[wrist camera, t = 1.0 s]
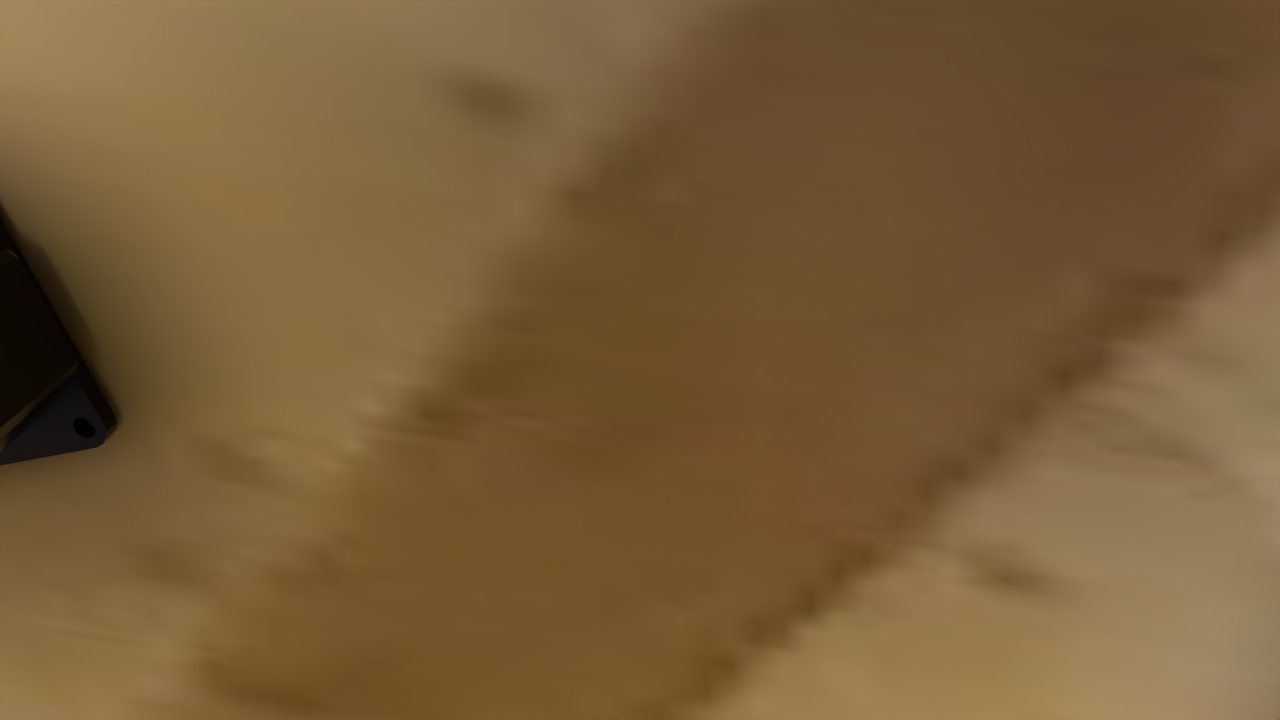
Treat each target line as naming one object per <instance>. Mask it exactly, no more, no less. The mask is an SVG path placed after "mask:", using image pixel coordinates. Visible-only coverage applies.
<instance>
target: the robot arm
mask: <svg viewBox="0 0 1280 720" xmlns="http://www.w3.org/2000/svg"><path fill="white" fill-rule="evenodd" d="M86 419H87V420H89V421H90V422H91V423H92V424H93V425H94V426H92V425H90V424H89V423H88V422H87V421H86ZM116 429H117V421H116V418H115V415H114V413H113V411H112V410H111V408H110V406H109V404H108V403H107V401H106V399H105V398H104V396H103V394H102V392H101V391H100V389H99V387H98V385H97V384H96V382H95V380H94V379H93V377H92V375H91V373H90V372H89V370H88V368H87V366H86V365H85V363H84V361H83V359H82V358H81V356H80V354H79V353H78V351H77V349H76V347H75V346H74V344H73V342H72V340H71V339H70V337H69V335H68V334H67V332H66V330H65V328H64V327H63V325H62V323H61V321H60V320H59V318H58V316H57V314H56V313H55V311H54V309H53V308H52V306H51V304H50V302H49V301H48V299H47V297H46V295H45V294H44V292H43V290H42V289H41V287H40V285H39V283H38V282H37V280H36V278H35V276H34V275H33V273H32V271H31V269H30V268H29V266H28V264H27V263H26V261H25V259H24V257H23V256H22V254H21V252H20V250H19V249H18V247H17V245H16V244H15V242H14V240H13V238H12V237H11V235H10V233H9V231H8V230H7V228H6V226H5V224H4V223H3V221H2V219H1V218H0V465H5V464H10V463H16V462H21V461H26V460H32V459H37V458H42V457H48V456H53V455H58V454H64V453H69V452H74V451H80V450H85V449H90V448H96V447H98V446H100V445H102V444H103V443H104V442H106V441H107V440H108V439H109V438H110V437H111V436H112V435H113V433H114V432H115V431H116Z"/></svg>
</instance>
